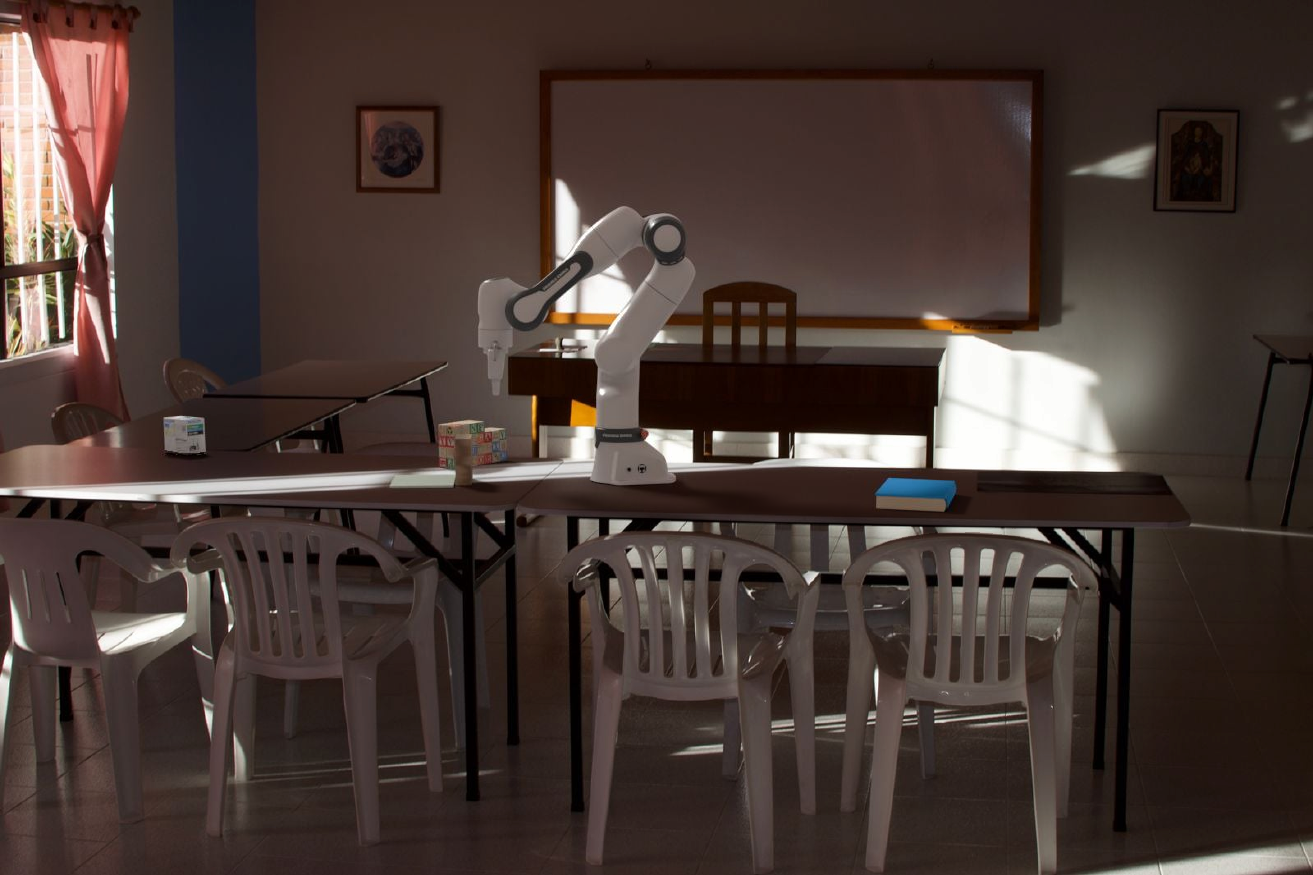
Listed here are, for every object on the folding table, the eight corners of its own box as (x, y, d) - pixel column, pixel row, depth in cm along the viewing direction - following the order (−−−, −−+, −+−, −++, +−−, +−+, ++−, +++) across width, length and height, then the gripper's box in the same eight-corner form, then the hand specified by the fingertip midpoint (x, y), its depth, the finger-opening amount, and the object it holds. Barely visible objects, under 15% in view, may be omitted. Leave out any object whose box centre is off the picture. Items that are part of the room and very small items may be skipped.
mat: (456, 476, 390) (456, 474, 390) (453, 487, 373) (453, 485, 373) (395, 477, 389) (395, 475, 389) (389, 488, 371) (389, 486, 371)
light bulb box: (206, 453, 432) (205, 417, 431) (188, 456, 427) (187, 419, 425) (182, 451, 438) (180, 415, 437) (163, 453, 432) (162, 417, 431)
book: (875, 493, 345) (887, 476, 369) (874, 511, 346) (887, 493, 370) (948, 497, 340) (956, 479, 364) (948, 515, 341) (956, 496, 365)
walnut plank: (472, 479, 387) (472, 434, 385) (471, 485, 377) (470, 438, 375) (457, 479, 386) (456, 434, 385) (455, 485, 377) (455, 439, 375)
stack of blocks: (491, 458, 424) (490, 416, 423) (507, 460, 420) (507, 418, 419) (438, 467, 407) (437, 423, 406) (454, 469, 404) (453, 425, 402)
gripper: (507, 342, 368) (508, 397, 370) (508, 337, 388) (508, 389, 390) (482, 343, 367) (482, 397, 369) (484, 337, 387) (484, 389, 389)
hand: (496, 393), depth 380 cm, fingers open, 6 cm apart
